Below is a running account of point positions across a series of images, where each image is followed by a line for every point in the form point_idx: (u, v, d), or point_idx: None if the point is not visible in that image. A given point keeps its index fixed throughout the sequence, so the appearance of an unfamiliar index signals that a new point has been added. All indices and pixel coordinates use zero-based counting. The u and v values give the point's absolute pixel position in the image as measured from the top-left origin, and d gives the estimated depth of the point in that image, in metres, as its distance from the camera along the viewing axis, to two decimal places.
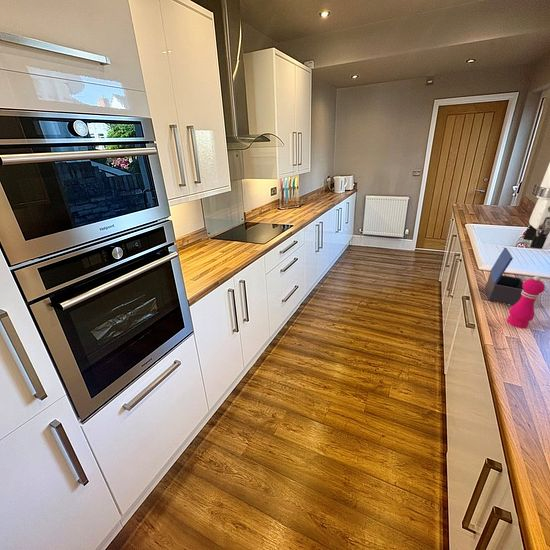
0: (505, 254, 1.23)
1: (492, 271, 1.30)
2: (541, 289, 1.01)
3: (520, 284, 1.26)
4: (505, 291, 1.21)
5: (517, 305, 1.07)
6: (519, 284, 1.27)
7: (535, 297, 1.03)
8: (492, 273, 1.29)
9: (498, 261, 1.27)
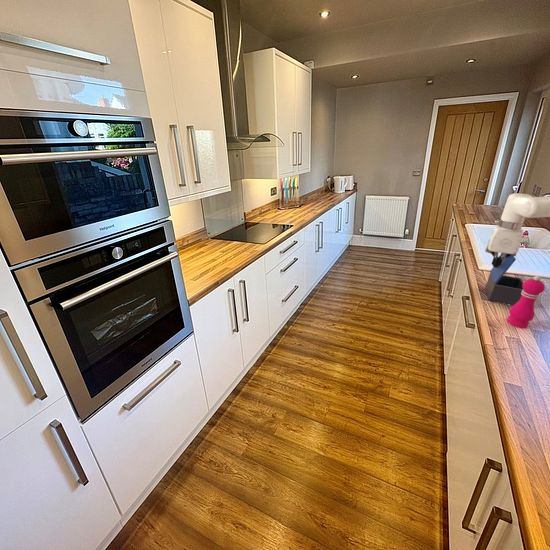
0: None
1: (492, 271, 1.30)
2: (541, 289, 1.01)
3: (520, 284, 1.26)
4: (505, 291, 1.21)
5: (517, 305, 1.07)
6: (519, 284, 1.27)
7: (535, 297, 1.03)
8: (492, 273, 1.29)
9: None
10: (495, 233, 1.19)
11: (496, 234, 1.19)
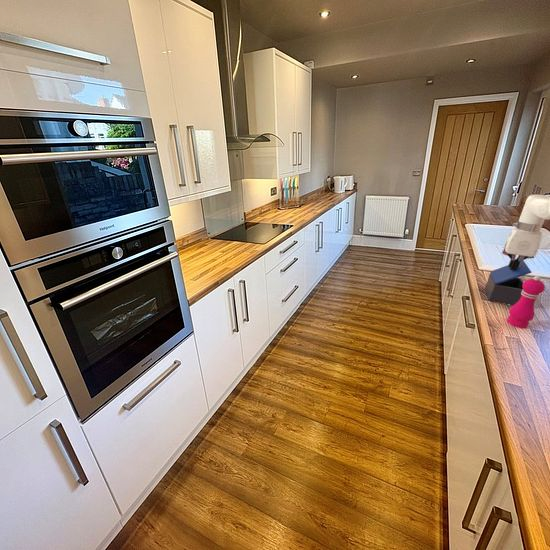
0: (522, 265, 1.21)
1: (495, 272, 1.29)
2: (541, 289, 1.01)
3: (520, 284, 1.26)
4: (505, 291, 1.21)
5: (517, 305, 1.07)
6: (519, 284, 1.27)
7: (535, 297, 1.03)
8: (494, 274, 1.28)
9: (508, 267, 1.27)
10: (513, 235, 1.16)
11: (514, 236, 1.16)
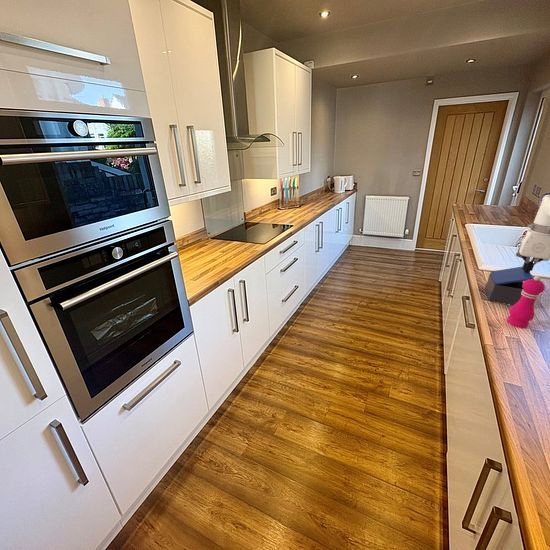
0: None
1: (495, 273, 1.29)
2: (541, 289, 1.01)
3: (520, 284, 1.26)
4: (505, 291, 1.21)
5: (517, 305, 1.07)
6: (519, 284, 1.27)
7: (535, 297, 1.03)
8: (495, 274, 1.28)
9: (509, 271, 1.27)
10: (528, 237, 1.15)
11: (529, 238, 1.14)
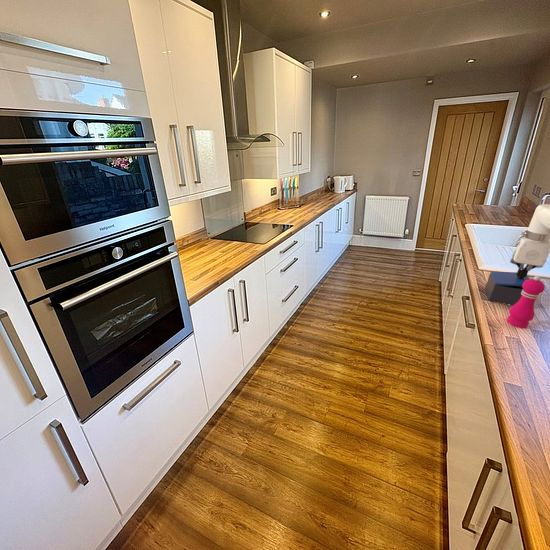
0: (525, 277, 1.23)
1: (496, 274, 1.29)
2: (541, 289, 1.01)
3: None
4: (505, 291, 1.21)
5: (517, 305, 1.07)
6: None
7: (535, 297, 1.03)
8: (495, 275, 1.28)
9: (510, 274, 1.27)
10: (521, 244, 1.16)
11: (523, 245, 1.16)
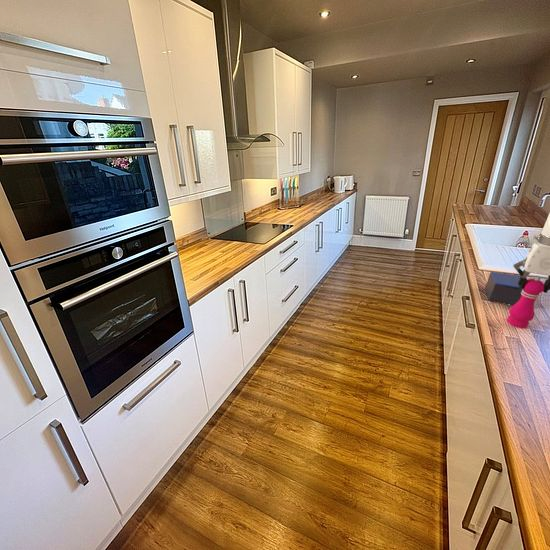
0: None
1: (496, 274, 1.29)
2: (541, 289, 1.01)
3: None
4: (505, 291, 1.21)
5: (517, 305, 1.07)
6: None
7: (535, 297, 1.03)
8: (495, 275, 1.28)
9: (509, 276, 1.27)
10: (534, 251, 0.98)
11: (535, 252, 0.97)
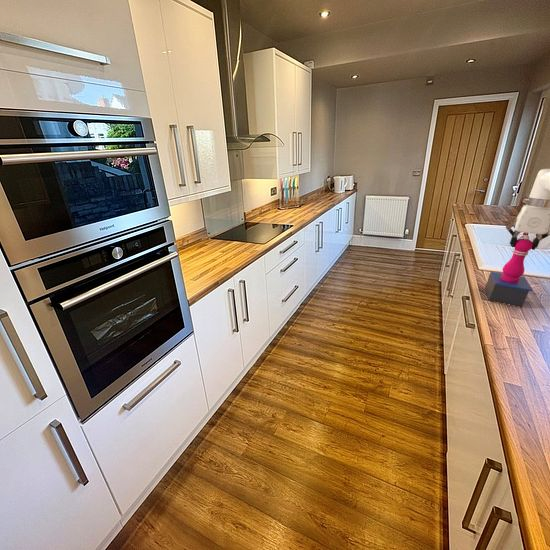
0: (524, 281, 1.23)
1: (496, 274, 1.29)
2: (529, 246, 1.15)
3: None
4: (505, 291, 1.21)
5: (509, 262, 1.22)
6: None
7: (524, 254, 1.17)
8: (495, 275, 1.28)
9: None
10: (523, 212, 1.12)
11: (524, 213, 1.12)
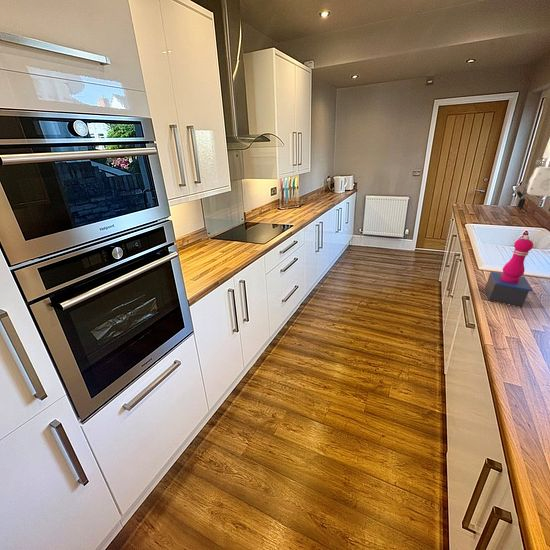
0: (524, 281, 1.23)
1: (496, 274, 1.29)
2: (530, 246, 1.15)
3: None
4: (505, 291, 1.21)
5: (509, 262, 1.22)
6: None
7: (525, 254, 1.17)
8: (495, 275, 1.28)
9: None
10: (536, 174, 1.08)
11: (537, 175, 1.08)
